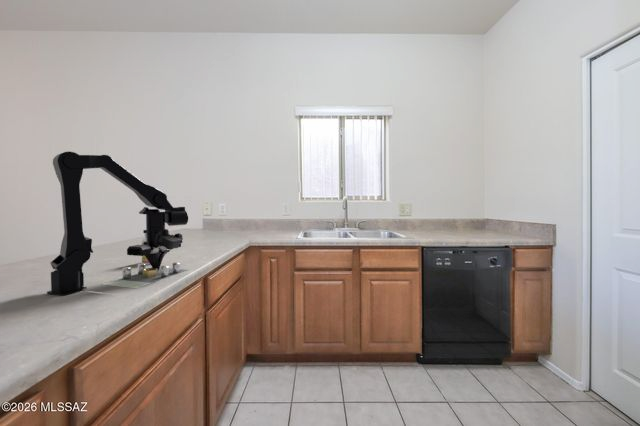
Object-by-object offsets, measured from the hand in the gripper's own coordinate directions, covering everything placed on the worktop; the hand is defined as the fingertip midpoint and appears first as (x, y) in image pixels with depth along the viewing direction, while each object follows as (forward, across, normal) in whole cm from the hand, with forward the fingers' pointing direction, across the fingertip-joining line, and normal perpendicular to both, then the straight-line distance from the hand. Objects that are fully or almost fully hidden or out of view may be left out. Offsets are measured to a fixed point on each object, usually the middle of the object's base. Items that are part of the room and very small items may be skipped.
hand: (156, 271), depth 104 cm
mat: (+2, -3, 0) cm, 4 cm away
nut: (+1, -3, 0) cm, 3 cm away
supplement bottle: (+2, +14, +15) cm, 21 cm away
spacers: (+1, -1, 0) cm, 2 cm away
